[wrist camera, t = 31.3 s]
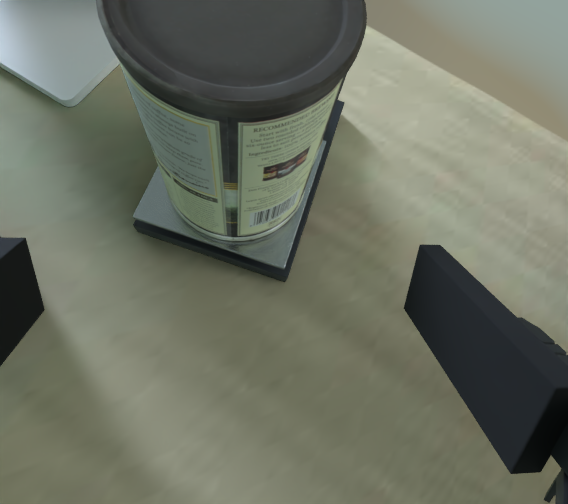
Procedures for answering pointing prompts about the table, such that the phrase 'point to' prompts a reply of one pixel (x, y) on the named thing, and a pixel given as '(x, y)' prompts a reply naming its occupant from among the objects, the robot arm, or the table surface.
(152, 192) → the pan
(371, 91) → the table surface
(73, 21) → the tablet stand
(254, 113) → the coffee can
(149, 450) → the table surface
